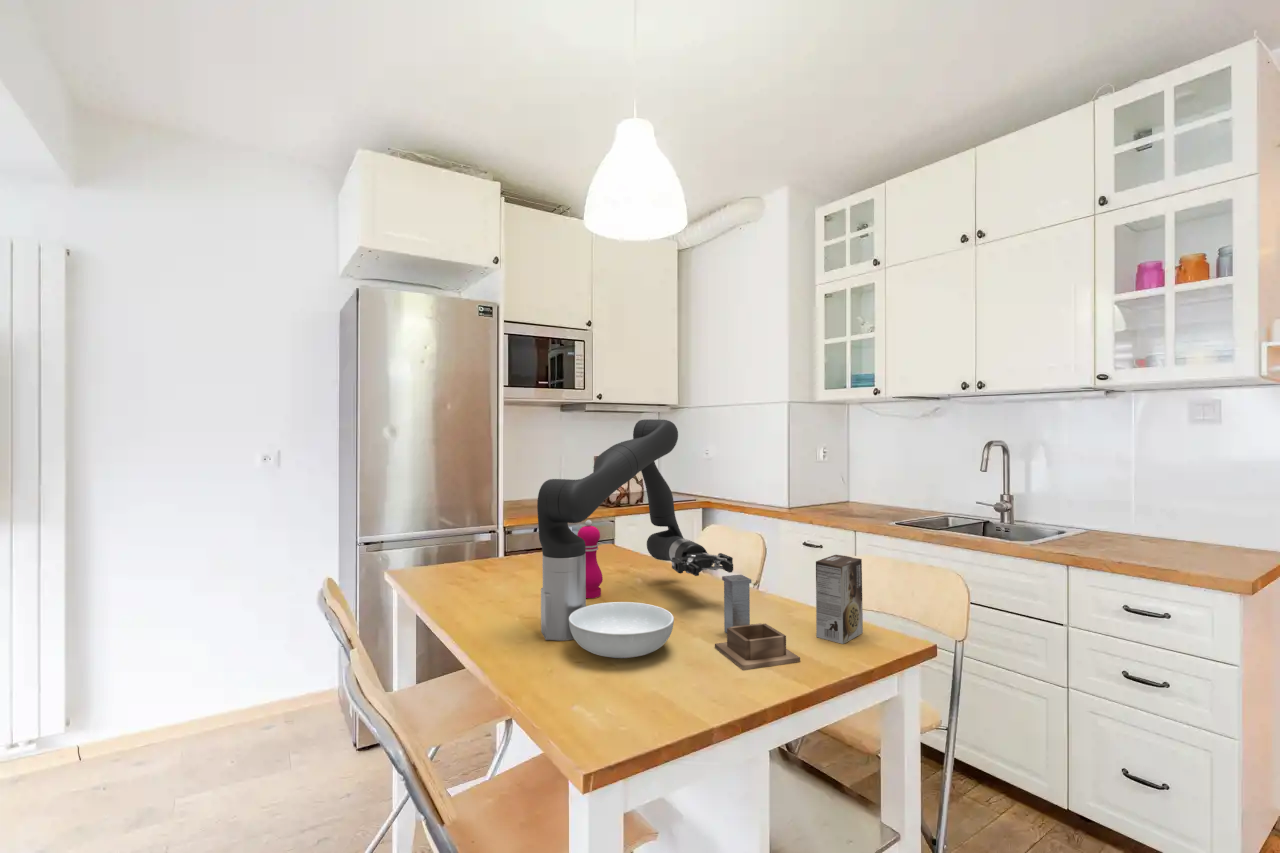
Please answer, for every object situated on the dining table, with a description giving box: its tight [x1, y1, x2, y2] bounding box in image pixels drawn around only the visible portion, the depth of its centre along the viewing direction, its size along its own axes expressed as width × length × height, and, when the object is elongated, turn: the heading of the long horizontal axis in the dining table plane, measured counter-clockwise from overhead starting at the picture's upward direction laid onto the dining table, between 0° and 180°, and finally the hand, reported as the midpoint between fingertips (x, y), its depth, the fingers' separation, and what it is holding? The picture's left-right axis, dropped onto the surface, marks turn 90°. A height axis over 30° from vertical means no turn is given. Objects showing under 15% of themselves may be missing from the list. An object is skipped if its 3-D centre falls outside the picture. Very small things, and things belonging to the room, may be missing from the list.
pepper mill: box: [576, 519, 604, 599], centre depth 162 cm, size 7×7×20 cm
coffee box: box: [815, 554, 864, 645], centre depth 129 cm, size 9×6×16 cm
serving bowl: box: [569, 601, 675, 659], centre depth 122 cm, size 21×21×7 cm
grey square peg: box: [721, 574, 752, 634], centre depth 131 cm, size 5×5×12 cm
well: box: [714, 622, 801, 671], centre depth 119 cm, size 12×12×4 cm
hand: (714, 569), depth 142 cm, fingers open, 8 cm apart
